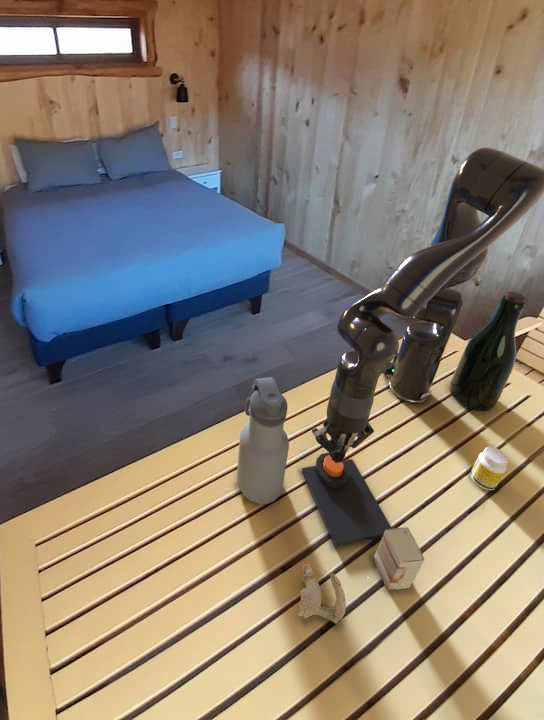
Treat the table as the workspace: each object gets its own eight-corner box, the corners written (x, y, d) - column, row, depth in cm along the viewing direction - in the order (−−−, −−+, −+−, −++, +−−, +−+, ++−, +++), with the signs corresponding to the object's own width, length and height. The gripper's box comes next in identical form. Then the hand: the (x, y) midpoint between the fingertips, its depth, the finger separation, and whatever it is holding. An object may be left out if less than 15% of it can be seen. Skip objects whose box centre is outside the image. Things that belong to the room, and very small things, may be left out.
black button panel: (298, 465, 90) (300, 457, 89) (347, 457, 92) (350, 448, 91) (334, 547, 76) (337, 539, 74) (392, 535, 78) (395, 526, 76)
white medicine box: (372, 557, 74) (383, 527, 70) (394, 555, 75) (408, 525, 70) (386, 592, 70) (400, 562, 65) (410, 589, 70) (426, 560, 65)
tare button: (319, 461, 88) (320, 456, 88) (336, 458, 89) (337, 453, 88) (328, 479, 85) (329, 474, 84) (345, 475, 85) (347, 470, 85)
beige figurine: (275, 587, 69) (307, 548, 67) (297, 577, 73) (327, 541, 71) (310, 648, 63) (346, 608, 60) (331, 634, 67) (366, 596, 64)
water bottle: (232, 461, 91) (238, 371, 79) (274, 457, 92) (286, 367, 79) (242, 508, 82) (250, 415, 69) (288, 503, 83) (305, 410, 70)
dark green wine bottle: (442, 395, 107) (482, 293, 92) (456, 375, 113) (496, 277, 98) (487, 420, 100) (539, 315, 85) (500, 398, 106) (550, 295, 91)
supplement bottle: (500, 493, 84) (515, 468, 80) (475, 488, 85) (488, 463, 81) (489, 471, 88) (503, 446, 85) (466, 467, 89) (478, 442, 85)
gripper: (370, 381, 81) (355, 438, 89) (309, 391, 79) (299, 447, 87) (393, 412, 75) (374, 470, 83) (327, 423, 73) (314, 481, 81)
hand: (335, 458), depth 85 cm, fingers closed
